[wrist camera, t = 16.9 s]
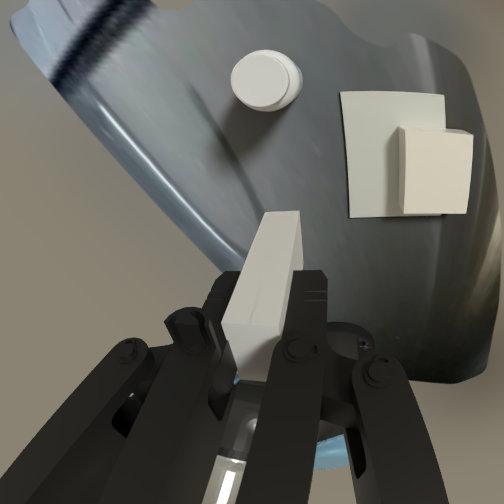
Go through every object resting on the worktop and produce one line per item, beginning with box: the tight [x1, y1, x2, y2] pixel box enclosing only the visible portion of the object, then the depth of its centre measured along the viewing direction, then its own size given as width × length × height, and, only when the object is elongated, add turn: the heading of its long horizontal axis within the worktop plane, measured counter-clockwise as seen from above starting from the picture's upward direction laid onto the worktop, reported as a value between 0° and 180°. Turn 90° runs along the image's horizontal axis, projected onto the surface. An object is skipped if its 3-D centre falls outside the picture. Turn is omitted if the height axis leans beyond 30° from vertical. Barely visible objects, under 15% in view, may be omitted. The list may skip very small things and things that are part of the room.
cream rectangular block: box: [398, 126, 473, 214], centre depth 28 cm, size 10×3×9 cm
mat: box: [340, 91, 445, 218], centre depth 30 cm, size 16×13×1 cm
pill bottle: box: [231, 50, 303, 112], centre depth 24 cm, size 6×6×11 cm
